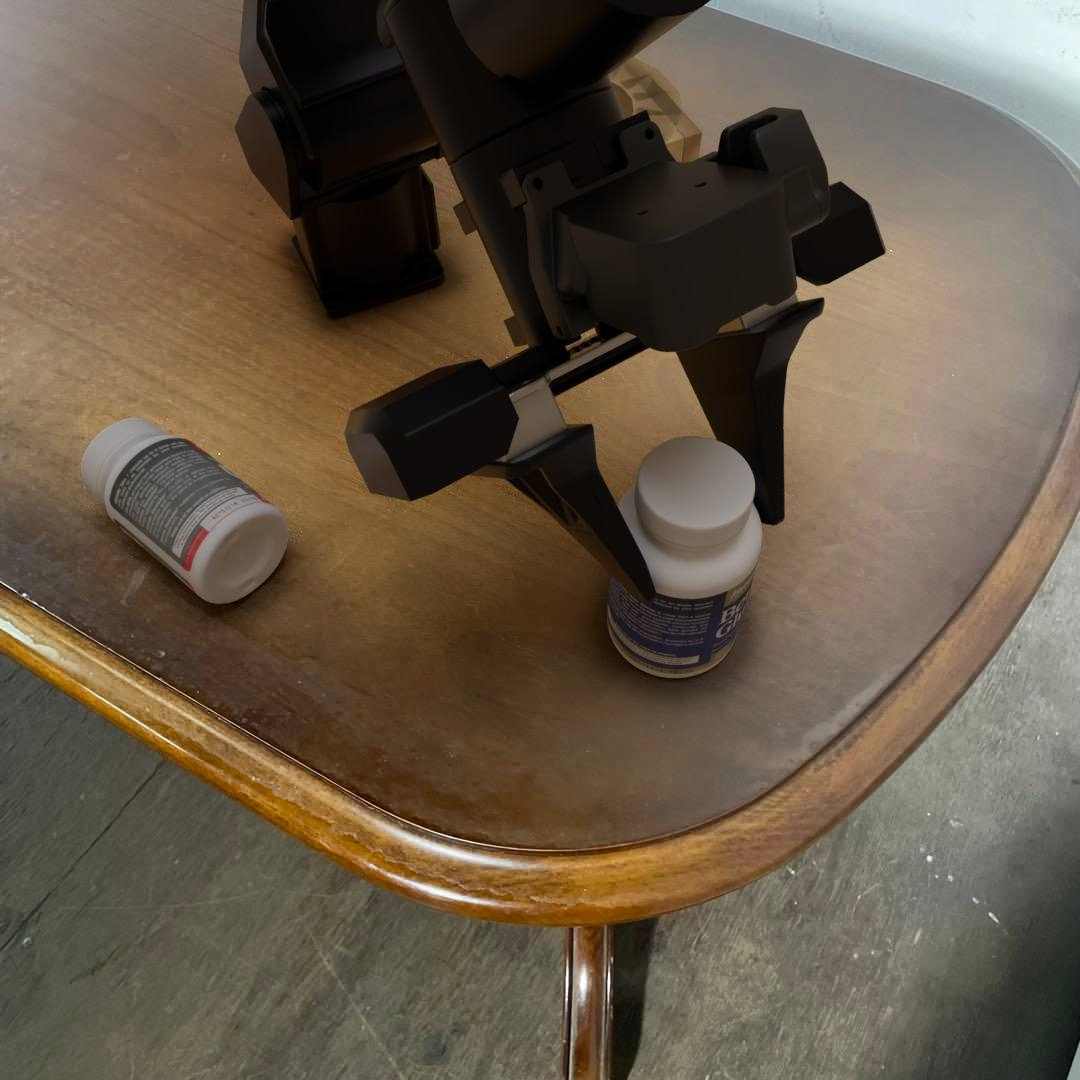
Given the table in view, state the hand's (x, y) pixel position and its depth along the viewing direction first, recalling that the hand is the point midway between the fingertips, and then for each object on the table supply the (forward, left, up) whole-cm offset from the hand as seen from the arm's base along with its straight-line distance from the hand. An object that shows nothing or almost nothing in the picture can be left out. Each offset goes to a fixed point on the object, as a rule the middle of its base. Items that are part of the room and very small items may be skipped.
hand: (711, 560), depth 37 cm
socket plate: (+10, +31, -7) cm, 33 cm away
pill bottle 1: (-15, +10, -4) cm, 19 cm away
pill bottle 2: (0, +1, -7) cm, 7 cm away
